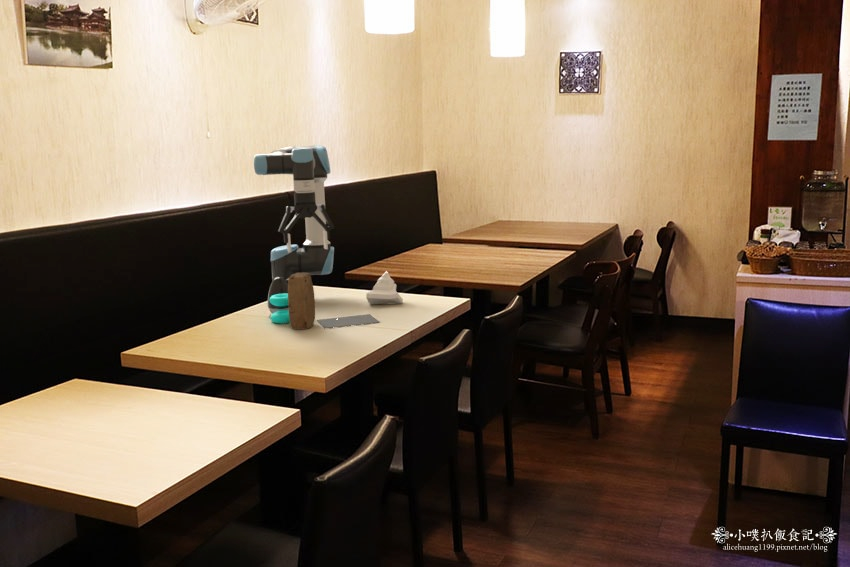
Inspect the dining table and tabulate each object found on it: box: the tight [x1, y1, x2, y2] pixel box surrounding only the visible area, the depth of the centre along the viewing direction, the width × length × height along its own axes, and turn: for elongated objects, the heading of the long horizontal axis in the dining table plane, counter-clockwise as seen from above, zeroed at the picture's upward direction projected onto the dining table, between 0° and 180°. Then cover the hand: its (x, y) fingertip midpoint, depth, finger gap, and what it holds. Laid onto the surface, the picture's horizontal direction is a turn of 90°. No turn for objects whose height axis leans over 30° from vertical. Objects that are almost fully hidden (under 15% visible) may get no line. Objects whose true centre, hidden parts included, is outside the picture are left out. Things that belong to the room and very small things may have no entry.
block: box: [288, 272, 316, 330], centre depth 290 cm, size 11×8×20 cm
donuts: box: [269, 293, 290, 324], centre depth 301 cm, size 10×10×10 cm
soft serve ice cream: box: [365, 270, 404, 305], centre depth 327 cm, size 12×15×14 cm
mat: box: [316, 313, 380, 329], centre depth 298 cm, size 14×21×1 cm, turn 110°
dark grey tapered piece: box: [267, 277, 289, 315], centre depth 311 cm, size 10×10×15 cm
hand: (307, 250), depth 288 cm, fingers open, 13 cm apart
